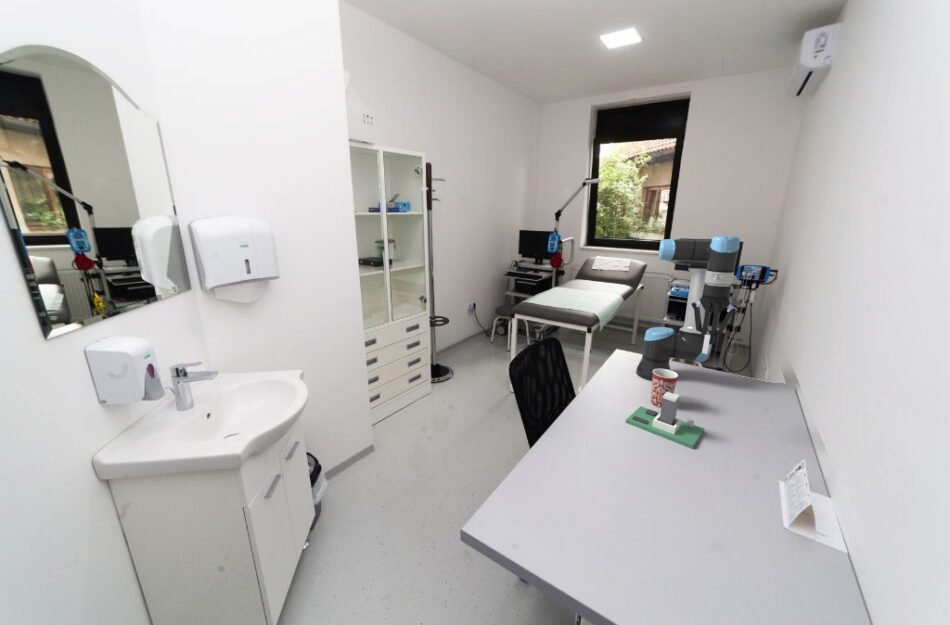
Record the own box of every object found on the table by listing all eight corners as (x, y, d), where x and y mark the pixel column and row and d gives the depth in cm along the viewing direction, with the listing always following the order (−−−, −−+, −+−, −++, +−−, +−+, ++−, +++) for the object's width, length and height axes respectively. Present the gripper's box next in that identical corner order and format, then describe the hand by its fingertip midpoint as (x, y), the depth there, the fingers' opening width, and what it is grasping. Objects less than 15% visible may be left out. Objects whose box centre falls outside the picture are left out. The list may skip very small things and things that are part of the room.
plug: (662, 421, 132) (667, 391, 129) (674, 426, 129) (679, 395, 126) (658, 426, 129) (663, 395, 126) (670, 430, 127) (675, 399, 124)
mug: (670, 411, 142) (676, 379, 138) (645, 404, 147) (650, 373, 143) (676, 399, 151) (681, 369, 148) (653, 393, 157) (657, 364, 153)
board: (640, 408, 143) (641, 400, 142) (703, 431, 129) (705, 422, 128) (625, 422, 134) (626, 413, 133) (692, 448, 119) (694, 438, 118)
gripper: (692, 283, 121) (681, 350, 127) (739, 288, 112) (725, 360, 118) (698, 280, 126) (687, 345, 132) (744, 285, 117) (730, 354, 123)
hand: (705, 352), depth 125 cm, fingers closed
